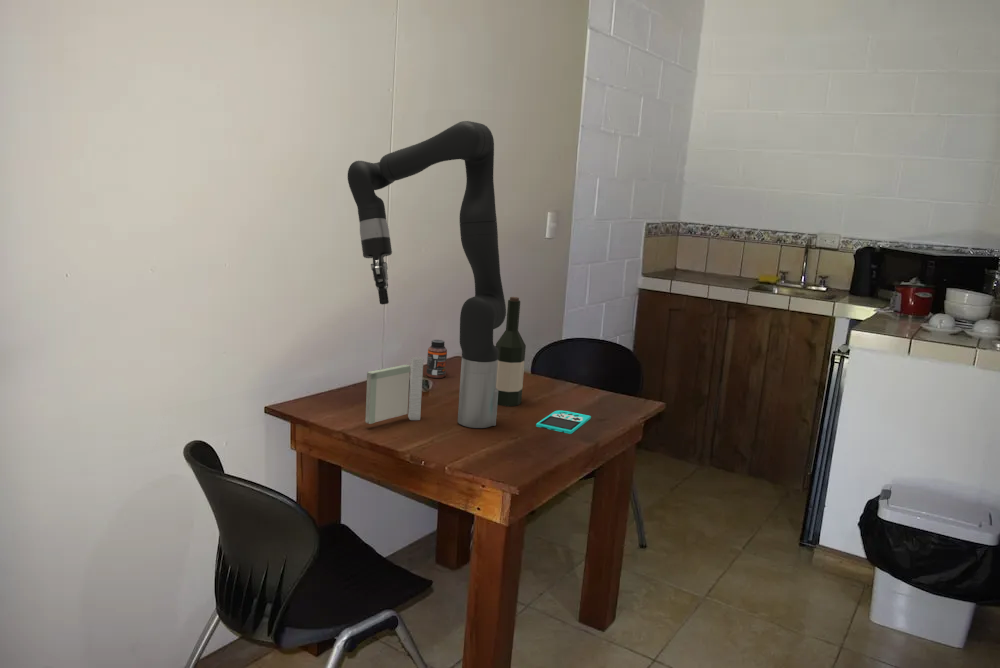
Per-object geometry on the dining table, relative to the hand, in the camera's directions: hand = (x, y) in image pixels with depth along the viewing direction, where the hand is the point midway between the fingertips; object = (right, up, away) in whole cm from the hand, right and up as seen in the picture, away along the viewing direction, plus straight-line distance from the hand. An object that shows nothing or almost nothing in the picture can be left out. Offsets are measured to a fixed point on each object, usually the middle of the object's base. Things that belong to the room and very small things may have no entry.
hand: (384, 304), depth 202 cm
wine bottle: (+32, -27, +17) cm, 45 cm away
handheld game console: (+47, -32, +3) cm, 57 cm away
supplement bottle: (+10, -21, +39) cm, 46 cm away
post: (+8, -30, -3) cm, 31 cm away
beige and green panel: (+2, -29, -9) cm, 30 cm away
